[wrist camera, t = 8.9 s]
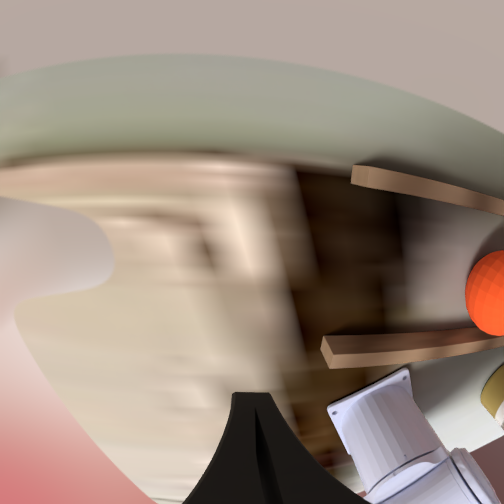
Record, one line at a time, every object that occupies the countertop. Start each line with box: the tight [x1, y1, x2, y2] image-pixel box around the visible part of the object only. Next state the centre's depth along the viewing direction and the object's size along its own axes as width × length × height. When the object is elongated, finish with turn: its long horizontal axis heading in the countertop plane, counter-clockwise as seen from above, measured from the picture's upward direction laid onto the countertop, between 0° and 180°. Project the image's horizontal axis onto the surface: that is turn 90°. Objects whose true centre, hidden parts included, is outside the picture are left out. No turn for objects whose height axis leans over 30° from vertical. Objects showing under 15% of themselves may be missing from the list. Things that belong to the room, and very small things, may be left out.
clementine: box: [465, 250, 504, 336], centre depth 18 cm, size 8×7×7 cm
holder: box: [321, 165, 504, 369], centre depth 20 cm, size 21×13×2 cm, turn 85°
